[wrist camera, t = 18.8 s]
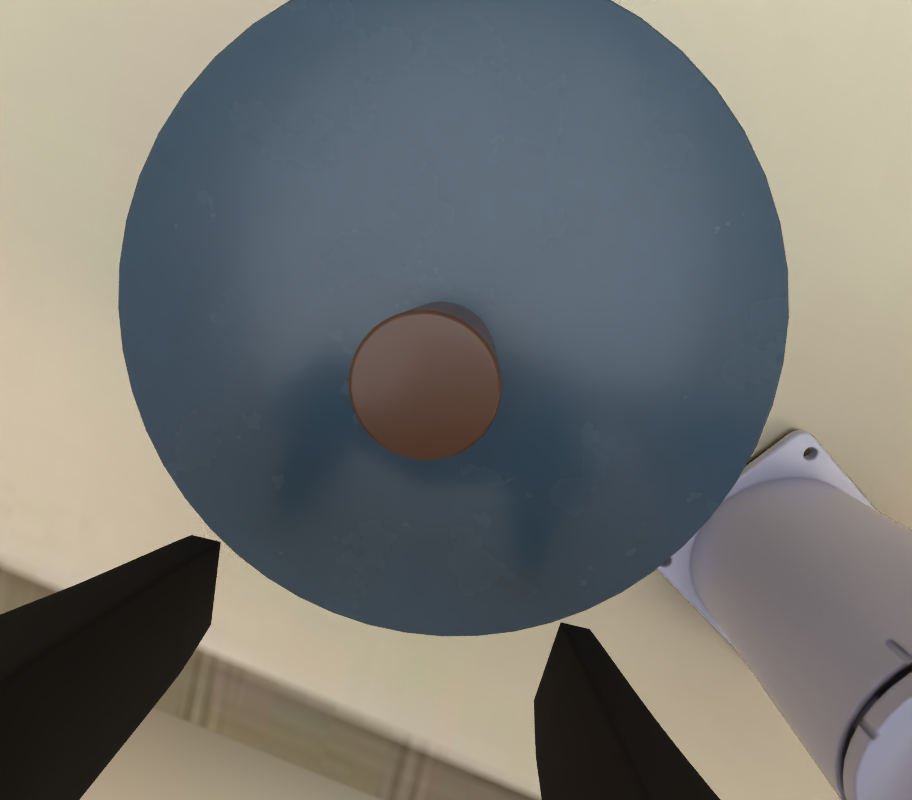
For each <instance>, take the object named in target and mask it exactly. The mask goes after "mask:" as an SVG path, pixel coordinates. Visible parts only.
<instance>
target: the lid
mask: <svg viewBox="0 0 912 800" xmlns="http://www.w3.org/2000/svg"><path fill="white" fill-rule="evenodd" d="M118 308H119V318H120V328H121V338H122V347H123V353H124V358H125V362H126V366H127V371H128V375H129V380H130V384H131V388H132V392H133V395H134V398H135V400H136V403H137V406H138V409H139V412H140V414H141V417H142V420H143V423H144V426H145V428H146V431H147V433H148V435H149V437H150V439H151V441H152V443H153V445H154V447H155V449H156V451H157V453H158V455H159V457H160V459H161V461H162V463H163V465H164V466H165V468H166V470H167V471H168V473H169V474H170V476H171V477H172V479H173V480H174V482H175V483H176V485H177V486H178V488H179V489H180V491H181V493H182V494H183V496H184V497H185V499H186V500H187V501H188V502H189V503H190V505H191V506H192V507H193V508H194V509H195V511H196V512H197V513H198V514H199V516H200V517H201V518H202V519H203V520H204V522H205V523H206V524H207V525H208V526H209V528H210V529H211V530H212V531H213V532H214V533H216V534H217V535H218V536H219V537H220V538H221V539H222V540H223V541H224V542H225V543H226V544H227V545H228V546H229V547H230V548H231V549H232V550H233V551H234V552H235V553H236V554H237V555H239V556H240V557H241V558H242V559H244V560H245V561H246V562H248V563H249V564H250V565H252V566H253V567H254V568H256V569H257V570H258V571H259V572H261V573H262V574H263V575H265V576H266V577H267V578H269V579H270V580H272V581H274V582H275V583H277V584H279V585H280V586H282V587H284V588H285V589H287V590H289V591H290V592H292V593H294V594H295V595H297V596H299V597H300V598H303V599H305V600H307V601H309V602H311V603H313V604H316V605H318V606H320V607H322V608H324V609H326V610H329V611H331V612H333V613H336V614H339V615H342V616H345V617H348V618H351V619H354V620H357V621H360V622H362V623H365V624H368V625H373V626H378V627H382V628H387V629H392V630H396V631H401V632H407V633H417V634H426V635H436V636H480V635H488V634H496V633H504V632H513V631H518V630H522V629H526V628H530V627H535V626H539V625H543V624H547V623H551V622H554V621H557V620H560V619H562V618H565V617H568V616H571V615H574V614H576V613H579V612H582V611H585V610H587V609H589V608H591V607H593V606H595V605H597V604H599V603H601V602H603V601H605V600H607V599H609V598H611V597H613V596H615V595H617V594H619V593H621V592H623V591H624V590H626V589H627V588H629V587H630V586H632V585H633V584H635V583H637V582H638V581H640V580H641V579H643V578H644V577H646V576H647V575H649V574H650V573H652V572H653V571H655V570H656V569H657V568H658V567H659V566H661V565H662V564H663V563H664V562H665V561H667V560H668V559H669V558H670V557H671V556H672V555H674V554H675V553H676V552H677V551H678V550H680V549H681V548H682V547H683V546H684V545H685V544H686V543H687V542H688V541H689V540H690V539H691V538H692V537H693V536H694V535H695V534H696V532H697V531H698V530H699V529H700V528H701V527H702V526H703V525H704V524H705V523H706V522H707V521H708V520H709V519H710V518H711V516H712V515H713V514H714V512H715V511H716V510H717V508H718V507H719V505H720V504H721V503H722V501H723V500H724V499H725V497H726V496H727V495H728V493H729V492H730V490H731V489H732V488H733V486H734V485H735V484H736V482H737V480H738V478H739V477H740V475H741V473H742V471H743V469H744V467H745V466H746V464H747V462H748V460H749V458H750V457H751V455H752V453H753V451H754V449H755V448H756V446H757V443H758V441H759V438H760V436H761V433H762V431H763V428H764V426H765V423H766V421H767V418H768V415H769V413H770V410H771V408H772V405H773V401H774V397H775V394H776V390H777V386H778V382H779V378H780V374H781V370H782V366H783V361H784V353H785V344H786V336H787V327H788V318H789V309H788V269H787V262H786V256H785V250H784V244H783V237H782V231H781V225H780V221H779V217H778V214H777V211H776V208H775V204H774V201H773V198H772V195H771V191H770V188H769V185H768V182H767V178H766V175H765V173H764V171H763V169H762V167H761V165H760V163H759V161H758V159H757V156H756V154H755V152H754V150H753V148H752V146H751V144H750V142H749V140H748V137H747V135H746V133H745V131H744V130H743V128H742V127H741V125H740V124H739V122H738V121H737V119H736V118H735V116H734V115H733V113H732V112H731V110H730V109H729V107H728V106H727V104H726V103H725V101H724V100H723V98H722V97H721V95H720V94H719V92H718V91H717V89H716V88H715V87H714V86H713V85H712V84H711V82H710V81H709V80H708V79H707V78H706V77H705V76H704V75H703V74H702V73H701V71H700V70H699V69H698V68H697V67H696V66H695V65H694V64H693V63H692V62H691V60H690V59H689V58H688V57H687V56H686V55H685V54H684V53H683V52H682V51H681V50H680V49H679V48H678V47H676V46H675V45H674V44H673V43H672V42H670V41H669V40H668V39H667V38H665V37H664V36H663V35H662V34H660V33H659V32H658V31H657V30H655V29H654V28H653V27H652V26H651V25H649V24H648V23H647V22H646V21H644V20H643V19H642V18H640V17H639V16H637V15H635V14H634V13H632V12H630V11H628V10H627V9H625V8H623V7H622V6H620V5H618V4H616V3H615V2H613V1H611V0H290V1H288V2H287V3H285V4H284V5H282V6H280V7H279V8H277V9H276V10H274V11H272V12H271V13H269V14H268V15H266V16H265V17H263V18H261V19H260V20H258V21H257V22H255V23H254V24H252V25H251V26H250V27H249V28H248V29H246V30H245V31H244V32H243V33H242V34H241V35H240V36H238V37H237V38H236V39H235V40H234V41H233V42H232V43H230V44H229V45H228V46H227V47H226V48H225V49H223V50H222V51H221V52H220V53H219V54H218V55H217V56H215V58H214V59H213V60H212V61H211V62H210V63H209V65H208V66H207V67H206V68H205V69H204V70H203V72H202V73H201V74H200V75H199V76H198V77H197V79H196V80H195V81H194V82H193V83H192V84H191V86H190V87H189V88H188V89H187V90H186V92H185V93H184V94H183V96H182V97H181V99H180V100H179V102H178V104H177V105H176V107H175V108H174V110H173V111H172V113H171V115H170V116H169V118H168V119H167V121H166V123H165V124H164V126H163V127H162V129H161V130H160V132H159V134H158V136H157V138H156V140H155V142H154V145H153V147H152V149H151V151H150V154H149V156H148V158H147V160H146V162H145V165H144V167H143V169H142V171H141V174H140V176H139V179H138V182H137V186H136V189H135V192H134V196H133V199H132V203H131V206H130V209H129V213H128V216H127V220H126V226H125V232H124V239H123V245H122V251H121V258H120V266H119V306H118Z"/></svg>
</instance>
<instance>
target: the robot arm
mask: <svg viewBox="0 0 912 800" xmlns="http://www.w3.org/2000/svg"><path fill="white" fill-rule="evenodd" d="M807 448H811V449H810V452H809V454H808V455H806V456H803V454H804V451H805V450H806V449H807ZM219 551H220V542H218V541H214V540H210V539H206V538H201V537H197V536H193V535H191V536H188V537H186V538H183V539H181V540H178V541H176V542H173V543H171V544H169V545H166V546H164V547H162V548H159V549H157V550H155V551H153V552H150V553H148V554H146V555H144V556H141V557H139V558H137V559H135V560H132V561H130V562H128V563H125V564H123V565H121V566H119V567H116V568H114V569H112V570H109V571H107V572H105V573H102V574H100V575H98V576H95V577H93V578H91V579H88V580H86V581H84V582H81V583H79V584H77V585H74V586H72V587H69V588H67V589H64V590H62V591H59V592H57V593H54V594H52V595H49V596H47V597H44V598H41V599H39V600H36V601H34V602H31V603H29V604H26V605H24V606H21V607H19V608H16V609H14V610H11V611H9V612H6V613H3V614H1V615H0V800H80V798H81V797H82V796H83V794H84V793H85V792H86V791H87V789H88V788H89V787H90V786H91V784H92V783H93V782H94V781H95V779H96V778H97V777H98V776H99V774H100V773H101V772H102V771H103V769H104V768H105V767H106V766H107V764H108V763H109V762H110V761H111V759H112V758H113V757H114V756H115V754H116V753H117V752H118V751H119V750H120V748H121V747H122V746H123V745H124V743H125V742H126V741H127V739H128V738H129V737H130V736H131V735H132V733H133V732H134V731H135V730H136V728H137V727H138V726H139V725H140V723H141V722H142V721H143V720H144V718H145V717H146V716H147V715H148V713H149V712H150V711H151V710H152V708H153V707H154V706H155V704H156V703H157V702H158V701H159V699H160V698H161V697H162V696H163V694H164V693H165V692H166V691H167V689H168V688H169V687H170V685H171V684H172V683H173V682H174V680H175V679H176V678H177V676H178V675H179V674H180V672H181V671H182V669H183V668H184V666H185V665H186V663H187V662H188V660H189V659H190V657H191V656H192V654H193V652H194V651H195V649H196V648H197V646H198V644H199V643H200V641H201V640H202V638H203V636H204V635H205V633H206V632H207V630H208V628H209V627H210V625H211V620H212V611H213V602H214V594H215V585H216V577H217V568H218V560H219ZM657 570H658V571H659V572H660V573H661V574H662V575H663V576H664V577H665V578H666V579H667V580H668V581H669V582H670V583H671V584H672V585H673V586H674V587H675V588H676V589H677V590H678V591H679V592H680V593H681V594H682V595H683V596H684V597H685V598H686V599H687V600H688V601H689V602H690V603H691V605H692V606H693V607H694V608H695V609H696V610H697V611H698V612H699V613H700V614H701V615H702V616H703V617H704V618H705V619H706V620H707V621H708V622H709V623H710V624H711V625H712V626H713V627H714V628H715V629H716V630H717V631H718V632H719V633H720V634H721V635H722V636H723V637H724V638H725V639H726V640H727V641H728V642H729V643H730V644H731V645H732V646H733V647H734V648H735V649H736V650H737V652H738V653H739V654H740V656H741V657H742V659H743V660H744V662H745V663H746V664H747V666H748V667H749V669H750V670H751V672H752V673H753V674H754V676H755V677H756V679H757V680H758V682H759V683H760V684H761V686H762V687H763V689H764V690H765V692H766V693H767V694H768V696H769V697H770V699H771V700H772V702H773V703H774V704H775V706H776V707H777V709H778V710H779V712H780V713H781V714H782V716H783V717H784V719H785V720H786V722H787V723H788V724H789V726H790V727H791V729H792V730H793V732H794V733H795V734H796V736H797V737H798V739H799V740H800V742H801V743H802V744H803V746H804V747H805V749H806V750H807V752H808V753H809V754H810V756H811V757H812V759H813V760H814V762H815V763H816V764H817V766H818V767H819V769H820V770H821V772H822V773H823V774H824V776H825V777H826V779H827V780H828V782H829V783H830V784H831V786H832V787H833V789H834V790H835V792H836V793H837V794H838V796H839V797H840V799H841V800H912V530H910V529H908V528H906V527H905V526H903V525H901V524H899V523H898V522H896V521H894V520H892V519H891V518H889V517H887V516H885V515H884V514H882V513H880V512H878V511H877V510H876V509H875V508H874V506H873V505H872V504H871V503H870V502H869V501H868V499H867V498H866V497H865V496H864V495H863V494H862V492H861V491H860V490H859V489H858V488H857V487H856V485H855V484H854V483H853V482H852V481H851V480H850V478H849V477H848V476H847V475H846V474H845V473H844V471H843V470H842V469H841V468H840V467H839V466H838V464H837V463H836V462H835V461H834V460H833V459H832V457H831V456H830V455H829V454H828V453H827V452H826V450H825V449H824V448H823V447H822V446H821V445H820V443H819V442H818V441H817V440H816V439H815V438H814V436H812V435H811V434H810V433H808V432H806V431H802V430H795V431H792V432H790V433H789V434H787V435H786V436H785V437H783V438H782V439H781V440H780V441H778V442H777V443H776V444H774V445H773V446H772V447H770V448H769V449H768V450H766V451H765V452H764V453H762V454H761V455H760V456H759V457H757V458H756V459H755V460H753V461H752V462H751V463H749V464H748V465H747V466H745V467H744V469H743V471H742V473H741V475H740V477H739V478H738V480H737V482H736V484H735V485H734V486H733V488H732V489H731V490H730V492H729V493H728V495H727V496H726V497H725V499H724V500H723V501H722V503H721V504H720V505H719V507H718V508H717V510H716V511H715V512H714V514H713V515H712V516H711V518H710V519H709V520H708V521H707V522H706V523H705V524H704V525H703V526H702V527H701V528H700V529H699V530H698V531H697V532H696V534H695V535H694V536H693V537H692V538H691V539H690V540H689V541H688V542H687V543H686V544H685V545H684V546H683V547H682V548H681V549H680V550H678V551H677V552H676V553H675V554H674V555H672V556H671V557H670V558H669V559H668V560H667V561H665V562H664V563H663V564H662V565H661V566H659V567H658V568H657ZM534 718H535V745H536V760H537V768H538V775H539V782H540V790H541V797H542V800H720V799H719V797H718V796H717V795H716V794H715V793H714V792H713V790H712V789H711V788H710V787H709V786H708V785H707V783H706V782H705V781H704V780H703V778H702V777H701V776H700V775H699V774H698V772H697V771H696V770H695V769H694V767H693V766H692V765H691V764H690V763H689V761H688V760H687V759H686V758H685V756H684V755H683V754H682V753H681V752H680V750H679V749H678V748H677V746H676V745H675V744H674V743H673V741H672V740H671V739H670V737H669V736H668V735H667V734H666V732H665V731H664V730H663V728H662V727H661V726H660V725H659V723H658V722H657V721H656V719H655V718H654V717H653V715H652V714H651V713H650V711H649V710H648V709H647V707H646V706H645V705H644V703H643V702H642V701H641V699H640V698H639V696H638V695H637V694H636V692H635V691H634V690H633V688H632V687H631V686H630V684H629V683H628V681H627V680H626V679H625V677H624V676H623V674H622V673H621V672H620V670H619V669H618V667H617V666H616V665H615V663H614V662H613V660H612V659H611V658H610V656H609V655H608V653H607V652H606V651H605V649H604V648H603V647H602V645H601V644H600V642H599V641H598V640H597V638H596V637H595V636H594V634H593V633H592V632H591V631H590V629H586V628H582V627H578V626H573V625H569V624H565V623H560V626H559V629H558V632H557V635H556V638H555V641H554V644H553V647H552V650H551V652H550V655H549V658H548V661H547V664H546V667H545V670H544V673H543V676H542V679H541V682H540V684H539V687H538V690H537V693H536V696H535V699H534Z"/></svg>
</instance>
